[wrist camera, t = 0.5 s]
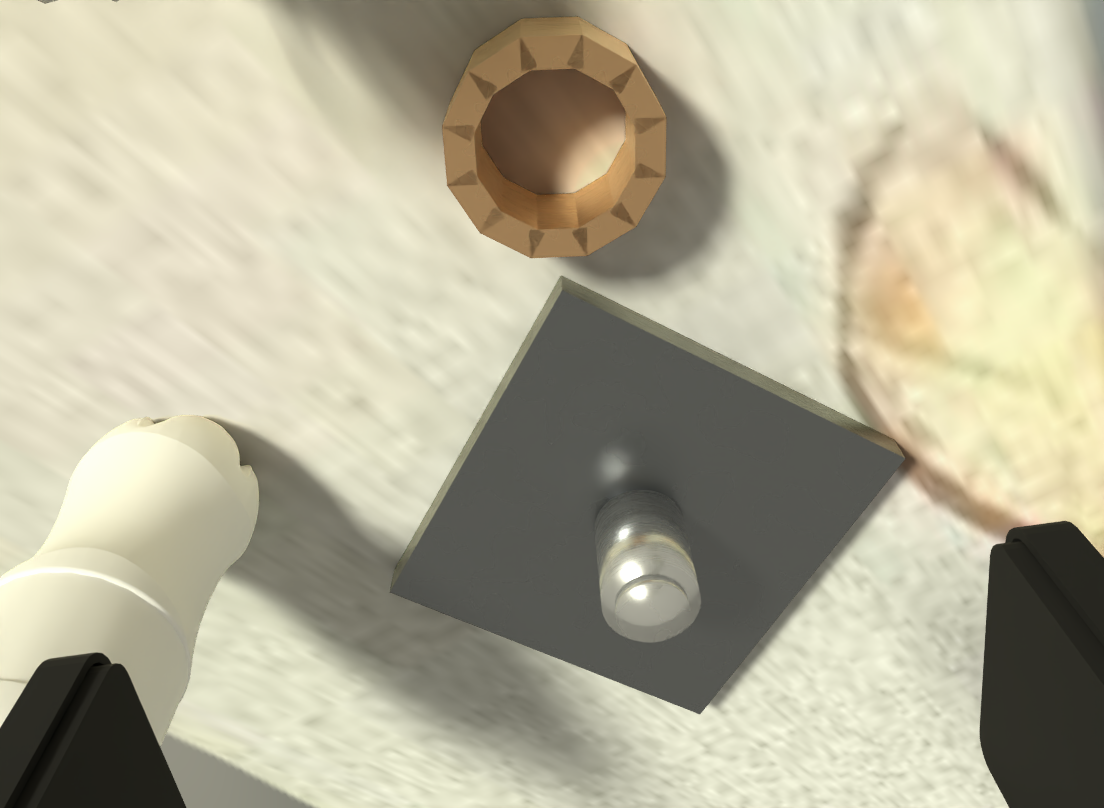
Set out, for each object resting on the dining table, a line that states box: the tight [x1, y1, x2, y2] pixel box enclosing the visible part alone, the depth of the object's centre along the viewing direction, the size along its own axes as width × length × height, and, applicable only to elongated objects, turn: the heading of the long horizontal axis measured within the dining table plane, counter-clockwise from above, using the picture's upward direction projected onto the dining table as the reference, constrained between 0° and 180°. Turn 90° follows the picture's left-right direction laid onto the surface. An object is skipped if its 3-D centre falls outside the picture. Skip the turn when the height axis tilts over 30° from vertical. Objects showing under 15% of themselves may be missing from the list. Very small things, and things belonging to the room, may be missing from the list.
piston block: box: [390, 276, 906, 714], centre depth 42 cm, size 16×16×7 cm
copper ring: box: [442, 16, 666, 258], centre depth 35 cm, size 7×7×4 cm
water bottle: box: [0, 415, 259, 747], centre depth 32 cm, size 7×7×25 cm
